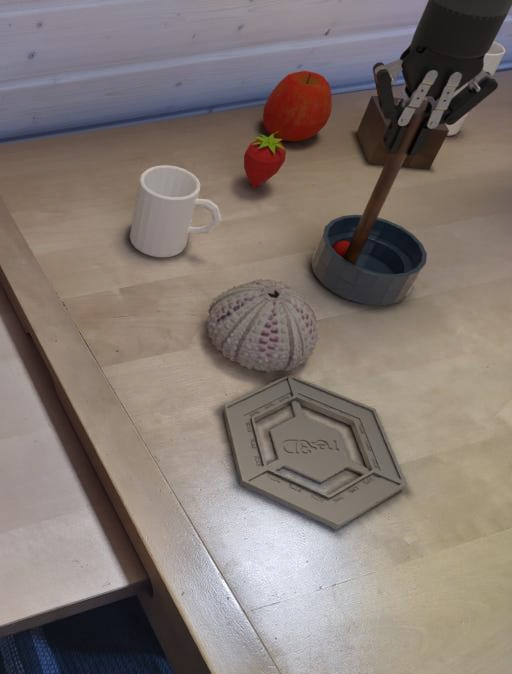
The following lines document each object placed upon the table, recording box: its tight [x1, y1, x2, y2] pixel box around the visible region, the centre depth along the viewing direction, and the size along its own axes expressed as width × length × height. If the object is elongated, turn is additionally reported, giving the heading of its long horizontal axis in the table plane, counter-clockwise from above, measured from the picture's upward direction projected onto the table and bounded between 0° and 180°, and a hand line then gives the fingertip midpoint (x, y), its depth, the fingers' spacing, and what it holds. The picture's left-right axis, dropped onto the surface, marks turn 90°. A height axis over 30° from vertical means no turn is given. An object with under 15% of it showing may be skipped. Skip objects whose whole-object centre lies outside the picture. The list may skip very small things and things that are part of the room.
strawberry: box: [243, 131, 287, 188], centre depth 109 cm, size 6×8×10 cm
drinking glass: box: [445, 40, 506, 137], centre depth 122 cm, size 7×7×15 cm
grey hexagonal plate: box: [222, 373, 407, 530], centre depth 78 cm, size 17×20×1 cm
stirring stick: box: [343, 109, 425, 265], centre depth 89 cm, size 2×2×22 cm
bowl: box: [310, 214, 428, 306], centre depth 97 cm, size 13×13×6 cm
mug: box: [129, 164, 223, 258], centre depth 98 cm, size 8×12×10 cm
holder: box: [355, 95, 449, 170], centre depth 119 cm, size 10×10×7 cm
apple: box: [262, 70, 333, 143], centre depth 121 cm, size 11×11×11 cm
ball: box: [333, 241, 350, 258], centre depth 98 cm, size 3×3×3 cm
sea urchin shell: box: [206, 278, 320, 373], centre depth 86 cm, size 13×14×8 cm
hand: (399, 151), depth 85 cm, fingers closed on stirring stick, 2 cm apart
